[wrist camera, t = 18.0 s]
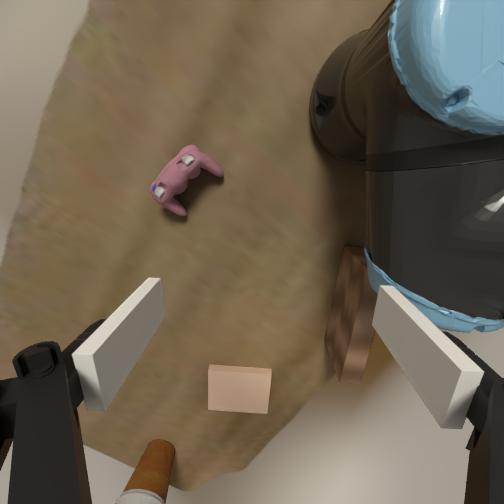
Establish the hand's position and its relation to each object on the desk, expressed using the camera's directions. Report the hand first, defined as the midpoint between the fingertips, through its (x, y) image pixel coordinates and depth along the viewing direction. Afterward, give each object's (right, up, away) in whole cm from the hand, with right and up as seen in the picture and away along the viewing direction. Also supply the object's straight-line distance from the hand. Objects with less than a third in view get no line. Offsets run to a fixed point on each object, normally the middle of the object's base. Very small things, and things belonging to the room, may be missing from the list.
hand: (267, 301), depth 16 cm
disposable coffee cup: (-22, -42, +43) cm, 63 cm away
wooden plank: (+15, -5, +29) cm, 33 cm away
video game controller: (-10, +14, +23) cm, 29 cm away
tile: (-3, -19, +34) cm, 39 cm away
